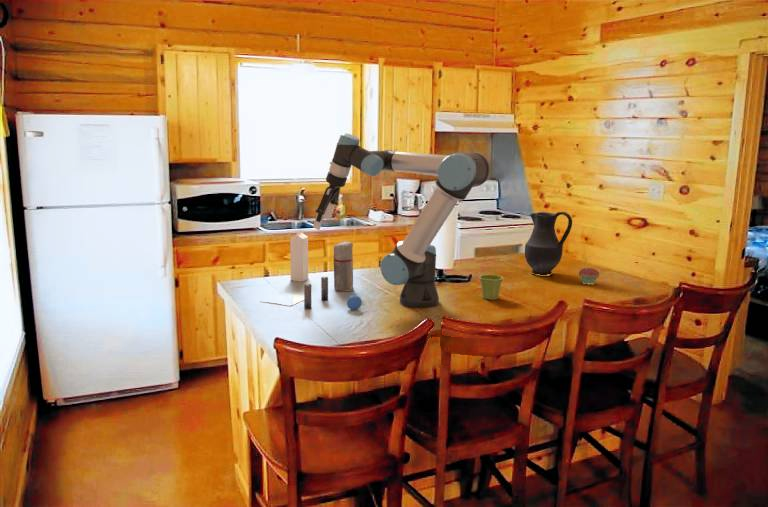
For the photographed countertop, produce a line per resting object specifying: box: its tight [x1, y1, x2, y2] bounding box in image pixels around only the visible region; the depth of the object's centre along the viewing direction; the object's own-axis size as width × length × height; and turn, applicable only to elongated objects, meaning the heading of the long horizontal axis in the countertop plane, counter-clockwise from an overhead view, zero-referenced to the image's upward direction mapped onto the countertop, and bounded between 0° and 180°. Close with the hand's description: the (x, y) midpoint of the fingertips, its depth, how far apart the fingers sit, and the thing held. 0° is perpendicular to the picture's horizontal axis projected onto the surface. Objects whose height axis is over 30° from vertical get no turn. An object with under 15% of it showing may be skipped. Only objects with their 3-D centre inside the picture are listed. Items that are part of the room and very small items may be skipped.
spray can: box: [333, 240, 354, 292], centre depth 253 cm, size 8×8×20 cm
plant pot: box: [478, 274, 504, 301], centre depth 245 cm, size 9×9×9 cm
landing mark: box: [281, 294, 304, 306], centre depth 239 cm, size 14×14×1 cm
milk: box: [289, 228, 309, 282], centre depth 268 cm, size 6×6×22 cm
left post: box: [303, 283, 312, 310], centre depth 227 cm, size 3×3×9 cm
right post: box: [320, 276, 329, 302], centre depth 238 cm, size 3×3×9 cm
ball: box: [346, 294, 362, 311], centre depth 226 cm, size 6×6×6 cm
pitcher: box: [524, 211, 573, 275], centre depth 284 cm, size 17×21×30 cm
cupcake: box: [578, 258, 600, 284], centre depth 270 cm, size 9×8×12 cm
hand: (321, 223), depth 241 cm, fingers open, 13 cm apart
